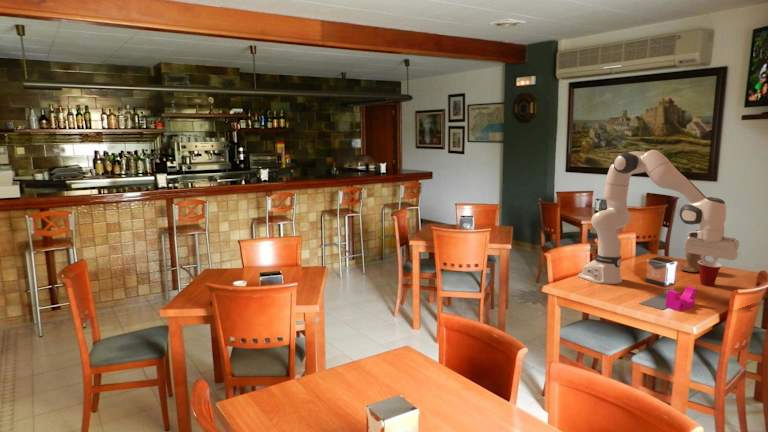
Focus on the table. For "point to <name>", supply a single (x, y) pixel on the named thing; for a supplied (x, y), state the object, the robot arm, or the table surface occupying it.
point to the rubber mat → (656, 302)
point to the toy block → (681, 299)
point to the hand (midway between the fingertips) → (708, 265)
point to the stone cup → (691, 262)
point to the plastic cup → (708, 273)
